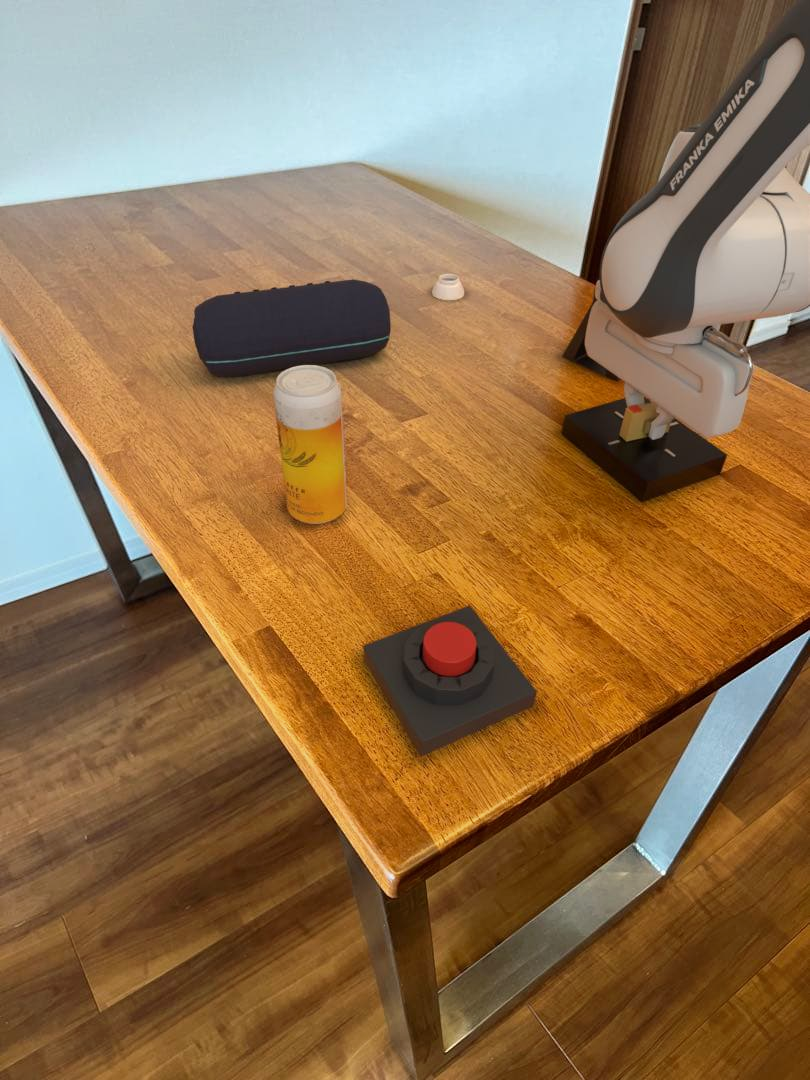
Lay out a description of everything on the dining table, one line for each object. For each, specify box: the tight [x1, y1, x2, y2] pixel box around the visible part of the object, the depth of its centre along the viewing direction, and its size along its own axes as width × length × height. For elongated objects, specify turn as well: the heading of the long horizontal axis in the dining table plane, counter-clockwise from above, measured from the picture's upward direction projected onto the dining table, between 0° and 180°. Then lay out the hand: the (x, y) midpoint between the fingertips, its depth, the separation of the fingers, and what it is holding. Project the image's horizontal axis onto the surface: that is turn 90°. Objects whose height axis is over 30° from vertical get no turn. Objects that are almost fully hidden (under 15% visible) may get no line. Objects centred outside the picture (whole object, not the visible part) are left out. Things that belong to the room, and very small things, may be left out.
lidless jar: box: [431, 273, 465, 301], centre depth 113 cm, size 5×3×5 cm
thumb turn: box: [619, 401, 671, 442], centre depth 79 cm, size 6×1×4 cm, turn 111°
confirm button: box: [423, 622, 476, 677], centre depth 56 cm, size 4×4×2 cm
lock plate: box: [561, 396, 728, 503], centre depth 81 cm, size 14×11×3 cm
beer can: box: [272, 365, 348, 525], centre depth 70 cm, size 6×6×15 cm
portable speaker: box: [191, 278, 392, 377], centre depth 94 cm, size 25×10×10 cm, turn 109°
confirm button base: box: [362, 605, 538, 757], centre depth 57 cm, size 10×10×4 cm
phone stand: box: [561, 286, 622, 382], centre depth 94 cm, size 9×6×12 cm, turn 43°
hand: (643, 428), depth 80 cm, fingers closed on thumb turn
